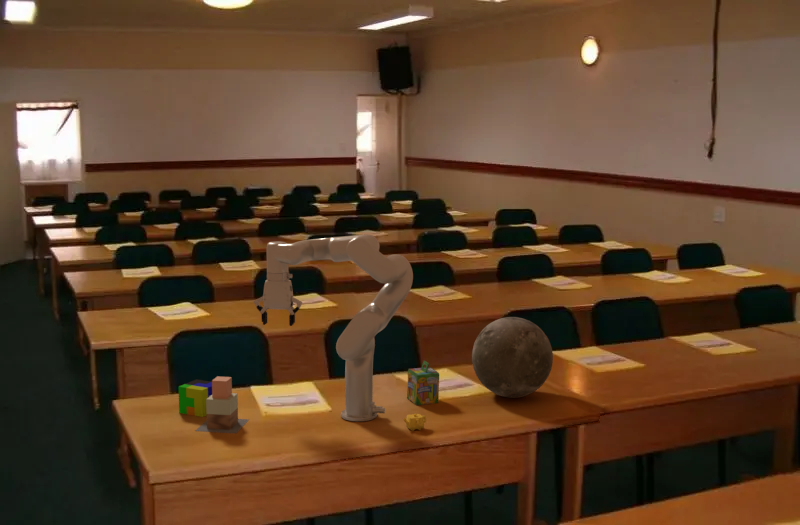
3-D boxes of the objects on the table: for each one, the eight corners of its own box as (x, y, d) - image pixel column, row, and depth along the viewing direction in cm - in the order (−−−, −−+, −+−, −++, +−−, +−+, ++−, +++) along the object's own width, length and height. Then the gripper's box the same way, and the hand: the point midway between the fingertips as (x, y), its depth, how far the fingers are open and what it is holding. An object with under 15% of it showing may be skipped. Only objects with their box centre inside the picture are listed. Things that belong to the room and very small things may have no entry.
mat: (249, 420, 302) (249, 419, 302) (236, 434, 288) (235, 433, 288) (210, 418, 304) (210, 417, 304) (195, 432, 290) (195, 430, 290)
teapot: (406, 433, 291) (406, 418, 290) (400, 427, 296) (401, 412, 296) (429, 431, 293) (429, 416, 293) (423, 425, 299) (423, 410, 298)
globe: (568, 399, 329) (571, 320, 324) (507, 413, 312) (509, 330, 307) (514, 380, 353) (516, 306, 349) (455, 392, 337) (456, 315, 332)
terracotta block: (232, 394, 297) (231, 377, 296) (226, 398, 292) (226, 381, 291) (217, 393, 297) (217, 376, 297) (212, 398, 293) (211, 380, 292)
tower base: (238, 421, 299) (237, 407, 299) (230, 429, 292) (229, 415, 291) (215, 420, 301) (215, 406, 300) (207, 428, 293) (206, 413, 292)
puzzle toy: (220, 410, 313) (219, 382, 312) (202, 418, 304) (201, 390, 303) (197, 406, 317) (196, 379, 316) (179, 414, 308) (178, 386, 307)
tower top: (237, 407, 299) (237, 393, 298) (229, 415, 291) (229, 400, 290) (215, 406, 300) (214, 392, 299) (206, 413, 292) (206, 399, 291)
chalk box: (406, 398, 328) (407, 360, 326) (429, 396, 331) (429, 357, 329) (416, 406, 320) (416, 366, 317) (439, 403, 323) (440, 364, 321)
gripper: (304, 275, 312) (304, 323, 315) (257, 274, 315) (257, 321, 317) (299, 279, 305) (299, 327, 307) (250, 277, 307) (251, 325, 310)
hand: (278, 324), depth 312 cm, fingers open, 9 cm apart
